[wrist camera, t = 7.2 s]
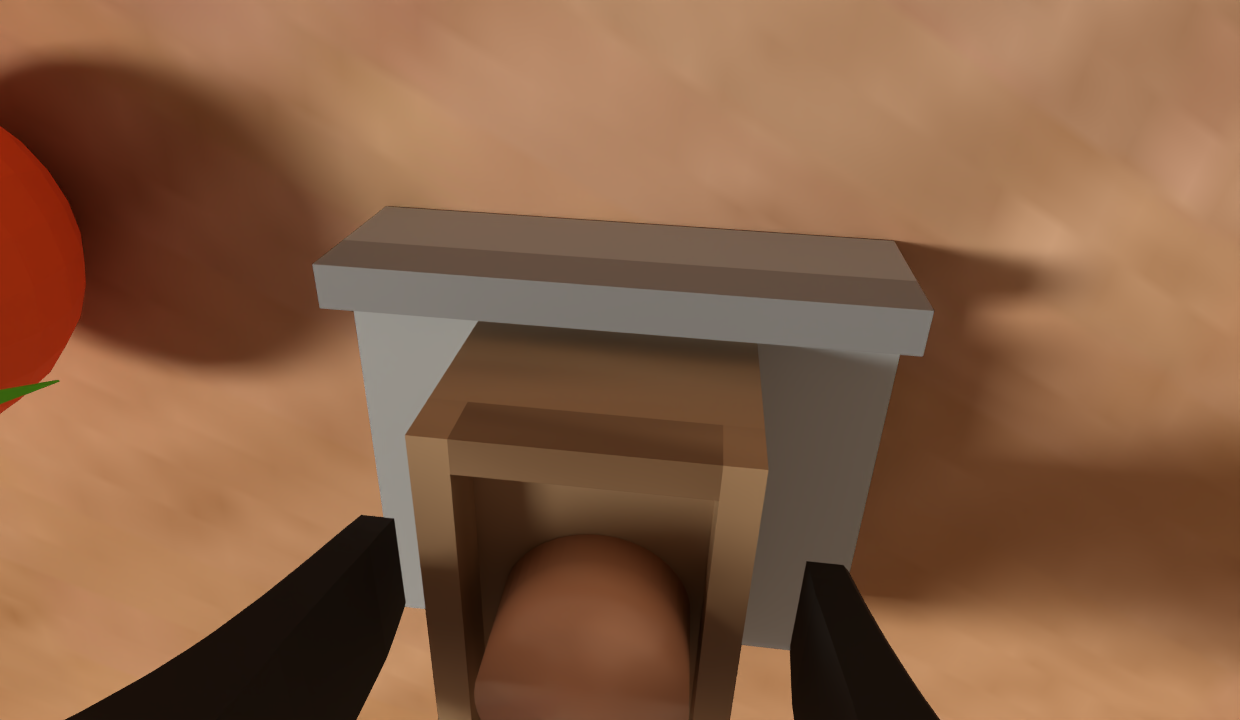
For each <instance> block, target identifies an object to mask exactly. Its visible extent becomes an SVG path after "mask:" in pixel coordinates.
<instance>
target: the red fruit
mask: <svg viewBox="0 0 1240 720" xmlns="http://www.w3.org/2000/svg"><path fill="white" fill-rule="evenodd" d="M85 287H86V279H85V261H84V254H83V247H82V239H81V233H80V230H79V228H78V225H77V223H76V220H75V217H74V215H73V212H72V210H71V207H70V205H69V202H68V200H67V199H66V197H65V196H64V194H63V193H62V191H61V190H60V188H59V186H58V185H57V183H56V182H55V180H54V179H53V177H52V176H51V174H50V172H49V171H48V170H47V169H46V168H45V167H44V166H43V164H42V163H41V162H40V161H39V160H38V159H37V158H36V157H35V156H34V155H33V154H32V153H31V152H30V150H29V149H28V148H27V147H26V146H25V145H24V144H23V143H22V142H21V141H20V140H18V139H17V138H16V137H14V136H13V135H12V134H10V133H9V132H8V131H6V130H5V129H4V128H2V127H1V126H0V413H2V412H3V411H4V410H6V409H7V408H9V407H10V406H11V405H13V404H14V403H15V402H17V401H18V400H20V399H21V398H22V397H23V396H24V395H26V394H28V393H31V392H33V391H36V390H39V389H41V388H44V387H46V386H49V385H52V384H54V383H57V382H59V380H54V381H48V382H43V383H39V382H40V381H41V380H42V379H43V378H44V377H45V376H46V375H47V374H49V373H50V372H51V370H52V368H53V367H54V365H55V363H56V361H57V360H58V358H59V356H60V355H61V353H62V351H63V350H64V348H65V346H66V344H67V342H68V340H69V339H70V337H71V335H72V333H73V331H74V329H75V327H76V325H77V323H78V321H79V319H80V317H81V312H82V306H83V300H84V293H85Z"/></svg>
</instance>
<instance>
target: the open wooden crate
mask: <svg viewBox="0 0 1240 720" xmlns="http://www.w3.org/2000/svg"><path fill="white" fill-rule="evenodd" d="M405 441H406V449H407V458H408V466H409V475H410V483H411V492H412V500H413V509H414V517H415V525H416V534H417V542H418V551H419V559H420V568H421V576H422V585H423V593H424V602H425V610H426V618H427V627H428V635H429V644H430V652H431V661H432V669H433V678H434V686H435V694H436V703H437V711H438V720H481V719H480V717H479V714H478V712H477V709H476V705H475V699H474V688H475V682H476V678H477V675H478V672H479V669H480V665H481V662H482V659H483V656H484V652H485V649H486V646H487V643H488V639H489V636H490V633H491V630H492V626H493V623H494V620H495V617H496V613H497V610H498V607H499V604H500V600H501V597H502V594H503V591H504V587H505V584H506V581H507V578H508V576H509V574H510V572H511V570H512V568H513V567H514V566H515V564H516V563H517V562H518V561H519V560H520V559H521V558H522V557H523V556H524V555H525V554H526V553H528V552H529V551H530V550H532V549H533V548H535V547H537V546H539V545H541V544H543V543H545V542H547V541H550V540H553V539H556V538H560V537H565V536H571V535H579V534H595V535H605V536H611V537H616V538H620V539H623V540H626V541H630V542H632V543H634V544H637V545H639V546H641V547H643V548H645V549H647V550H649V551H650V552H652V553H654V554H655V555H656V556H658V557H659V558H661V559H662V560H663V561H664V562H665V563H666V564H667V565H669V566H670V567H671V568H672V570H673V571H674V572H675V573H676V574H677V576H678V577H679V579H680V580H681V582H682V583H683V585H684V587H685V590H686V592H687V594H688V598H689V602H690V680H689V719H688V720H730V716H731V709H732V703H733V696H734V690H735V684H736V677H737V671H738V664H739V658H740V651H741V645H742V638H743V632H744V626H745V619H746V613H747V606H748V600H749V593H750V587H751V580H752V574H753V567H754V561H755V555H756V548H757V542H758V535H759V529H760V522H761V516H762V509H763V503H764V496H765V490H766V484H767V477H768V471H769V469H768V458H767V446H766V435H765V424H764V412H763V401H762V390H761V378H760V367H759V356H758V344H757V343H747V342H735V341H722V340H710V339H697V338H685V337H672V336H660V335H647V334H635V333H622V332H610V331H597V330H585V329H572V328H560V327H547V326H535V325H522V324H510V323H497V322H485V321H478V322H477V324H476V325H475V327H474V328H473V330H472V331H471V333H470V334H469V336H468V338H467V339H466V341H465V342H464V344H463V345H462V347H461V349H460V350H459V352H458V353H457V355H456V356H455V358H454V359H453V361H452V363H451V364H450V366H449V367H448V369H447V370H446V372H445V373H444V375H443V377H442V378H441V380H440V381H439V383H438V384H437V386H436V387H435V389H434V391H433V392H432V394H431V395H430V397H429V398H428V400H427V401H426V403H425V405H424V406H423V408H422V409H421V411H420V412H419V414H418V415H417V417H416V419H415V420H414V422H413V423H412V425H411V426H410V428H409V429H408V431H407V433H406V434H405Z"/></svg>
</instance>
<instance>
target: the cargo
mask: <svg viewBox="0 0 1240 720" xmlns="http://www.w3.org/2000/svg"><path fill="white" fill-rule="evenodd" d="M689 680H690V602H689V598H688V594H687V592H686V590H685V587H684V585H683V583H682V582H681V580H680V579H679V577H678V576H677V574H676V573H675V572H674V571H673V570H672V568H671V567H670V566H669V565H667V564H666V563H665V562H664V561H663V560H662V559H661V558H659V557H658V556H656V555H655V554H654V553H652V552H650V551H649V550H647V549H645V548H643V547H641V546H639V545H637V544H634V543H632V542H630V541H626V540H623V539H620V538H616V537H611V536H605V535H595V534H579V535H571V536H565V537H560V538H556V539H553V540H550V541H547V542H545V543H543V544H541V545H539V546H537V547H535V548H533V549H532V550H530V551H529V552H528V553H526V554H525V555H524V556H523V557H522V558H521V559H520V560H519V561H518V562H517V563H516V564H515V566H514V567H513V568H512V570H511V572H510V574H509V576H508V578H507V581H506V584H505V587H504V591H503V594H502V597H501V600H500V604H499V607H498V610H497V613H496V617H495V620H494V623H493V626H492V630H491V633H490V636H489V639H488V643H487V646H486V649H485V652H484V656H483V659H482V662H481V665H480V669H479V672H478V675H477V678H476V682H475V688H474V699H475V705H476V709H477V712H478V714H479V717H480V719H481V720H688V719H689Z"/></svg>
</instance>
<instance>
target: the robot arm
mask: <svg viewBox="0 0 1240 720" xmlns="http://www.w3.org/2000/svg"><path fill="white" fill-rule="evenodd" d="M405 604H406V600H405V593H404V586H403V579H402V571H401V564H400V557H399V550H398V542H397V535H396V528H395V520H394V518H385V517H375V516H366V515H361V516H359V517H358V518H357V519H356V520H355V521H353V522H352V523H351V524H350V525H348V526H347V527H346V528H345V529H343V530H342V531H341V532H340V533H339V534H337V535H336V536H335V537H334V538H333V539H331V540H330V541H329V542H328V543H327V544H325V545H324V546H323V547H322V548H321V549H319V550H318V551H317V552H316V553H315V554H313V555H312V556H311V557H310V558H309V559H307V560H306V561H305V562H304V563H303V564H301V565H300V566H299V567H298V568H297V569H295V570H294V571H293V572H292V573H290V574H289V575H288V576H287V577H285V578H284V579H283V580H282V581H280V582H279V583H278V584H277V585H275V586H274V587H273V588H272V589H270V590H269V591H268V592H267V593H265V594H264V595H263V596H262V597H260V598H259V599H258V600H256V601H255V602H254V603H252V604H251V605H250V606H248V607H247V608H245V609H244V610H243V611H241V612H240V613H239V614H237V615H236V616H235V617H233V618H232V619H231V620H229V621H228V622H227V623H225V624H224V625H222V626H221V627H220V628H218V629H217V630H216V631H214V632H213V633H211V634H210V635H208V636H207V637H206V638H204V639H203V640H201V641H200V642H198V643H197V644H195V645H194V646H192V647H191V648H189V649H188V650H186V651H184V652H183V653H181V654H180V655H178V656H177V657H175V658H173V659H172V660H170V661H169V662H167V663H165V664H164V665H162V666H161V667H159V668H157V669H156V670H154V671H153V672H151V673H149V674H148V675H146V676H144V677H142V678H141V679H139V680H137V681H135V682H134V683H132V684H130V685H128V686H126V687H125V688H123V689H121V690H119V691H117V692H116V693H114V694H112V695H110V696H108V697H107V698H105V699H103V700H101V701H99V702H98V703H96V704H94V705H92V706H90V707H89V708H87V709H85V710H83V711H81V712H79V713H77V714H75V715H73V716H71V717H69V718H67V719H65V720H356V719H357V717H358V715H359V713H360V711H361V709H362V707H363V705H364V703H365V701H366V699H367V697H368V695H369V693H370V691H371V689H372V687H373V685H374V683H375V681H376V679H377V677H378V675H379V673H380V671H381V669H382V667H383V664H384V662H385V660H386V658H387V656H388V653H389V650H390V648H391V645H392V642H393V639H394V637H395V634H396V631H397V628H398V625H399V622H400V619H401V616H402V613H403V610H404V607H405ZM790 664H791V689H792V707H793V714H794V720H940V719H939V718H938V716H937V715H936V714H935V712H934V711H933V709H932V708H931V707H930V705H929V704H928V702H927V701H926V700H925V698H924V697H923V695H922V694H921V692H920V691H919V689H918V688H917V687H916V685H915V684H914V682H913V681H912V679H911V678H910V676H909V675H908V673H907V671H906V670H905V668H904V667H903V665H902V664H901V662H900V660H899V659H898V657H897V656H896V654H895V653H894V651H893V649H892V648H891V646H890V645H889V643H888V641H887V640H886V638H885V636H884V635H883V633H882V631H881V630H880V628H879V626H878V625H877V623H876V621H875V619H874V618H873V616H872V614H871V612H870V611H869V609H868V607H867V605H866V603H865V602H864V600H863V598H862V596H861V594H860V592H859V590H858V589H857V587H856V585H855V583H854V581H853V579H852V577H851V575H850V573H849V571H848V570H847V569H846V567H845V566H844V565H839V564H830V563H820V562H810V561H806V566H805V571H804V576H803V582H802V587H801V592H800V597H799V602H798V607H797V612H796V618H795V623H794V628H793V633H792V638H791V643H790Z"/></svg>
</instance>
